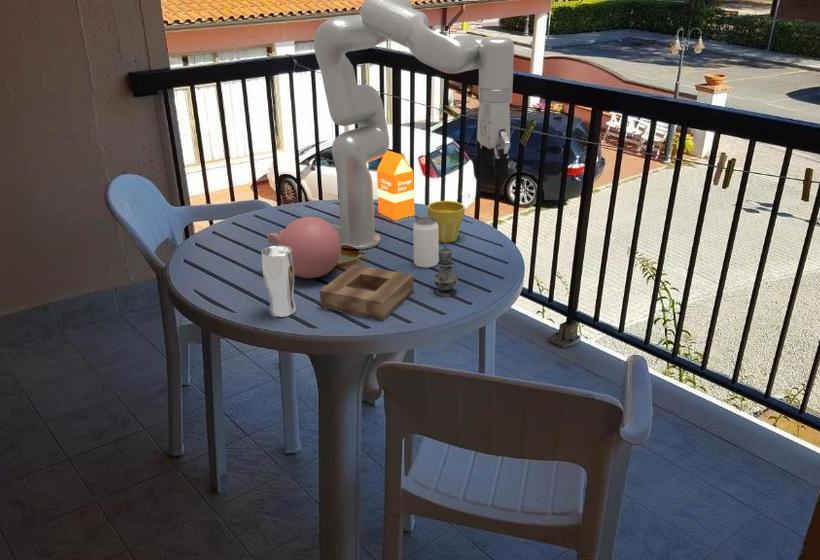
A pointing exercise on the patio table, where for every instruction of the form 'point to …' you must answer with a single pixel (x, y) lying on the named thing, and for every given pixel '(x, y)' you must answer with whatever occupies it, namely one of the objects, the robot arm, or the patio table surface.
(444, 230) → the plant pot
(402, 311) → the patio table surface
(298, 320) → the patio table surface
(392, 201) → the orange juice
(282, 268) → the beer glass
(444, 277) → the grey chess piece
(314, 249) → the pink party balloon
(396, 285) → the socket block
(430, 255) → the can
